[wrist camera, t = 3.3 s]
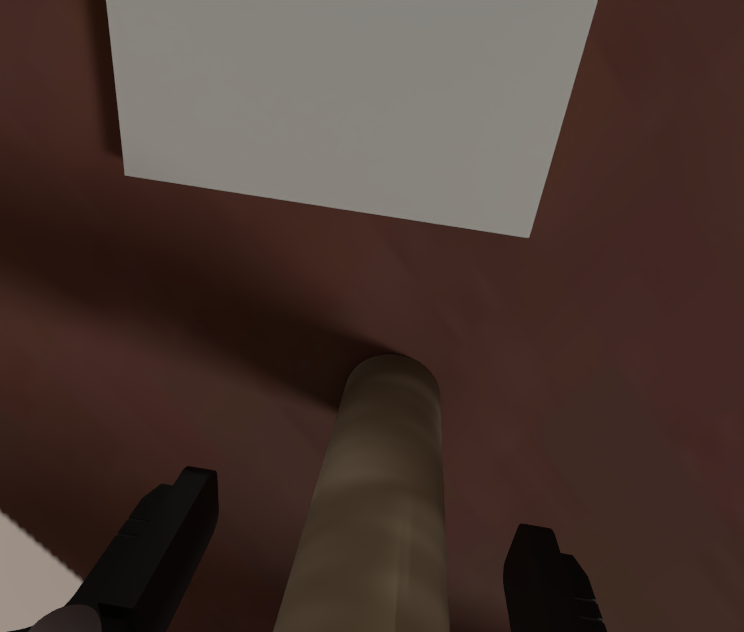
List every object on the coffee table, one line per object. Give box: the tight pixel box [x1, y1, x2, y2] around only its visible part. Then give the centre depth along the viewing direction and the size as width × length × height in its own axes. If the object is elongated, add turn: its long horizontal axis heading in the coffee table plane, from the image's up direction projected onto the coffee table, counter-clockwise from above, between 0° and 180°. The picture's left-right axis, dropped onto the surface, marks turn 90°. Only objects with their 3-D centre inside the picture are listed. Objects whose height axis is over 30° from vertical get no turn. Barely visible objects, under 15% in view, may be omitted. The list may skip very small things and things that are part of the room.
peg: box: [273, 354, 450, 632], centre depth 12 cm, size 4×4×12 cm
